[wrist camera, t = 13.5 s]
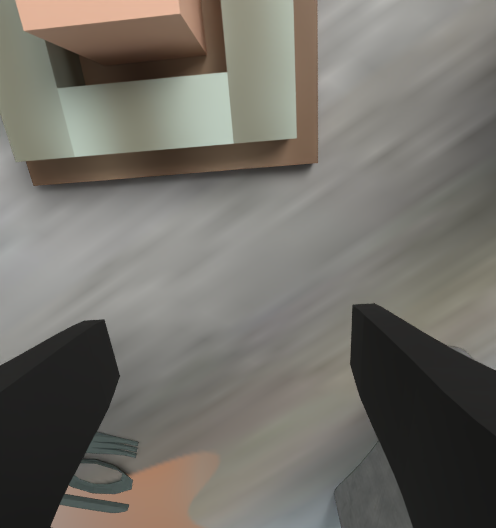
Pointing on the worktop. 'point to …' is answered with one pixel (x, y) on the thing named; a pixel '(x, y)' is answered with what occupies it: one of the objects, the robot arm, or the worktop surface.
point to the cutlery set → (103, 446)
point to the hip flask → (373, 493)
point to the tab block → (118, 28)
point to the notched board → (204, 154)
